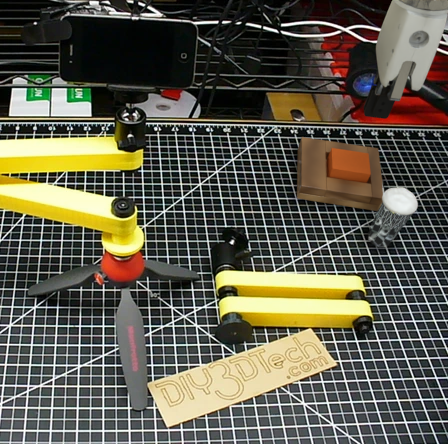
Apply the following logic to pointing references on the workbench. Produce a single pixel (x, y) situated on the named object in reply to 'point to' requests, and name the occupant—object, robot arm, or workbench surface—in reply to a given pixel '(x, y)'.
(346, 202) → the wooden tray
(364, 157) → the orange block
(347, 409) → the workbench surface
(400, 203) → the milkshake
